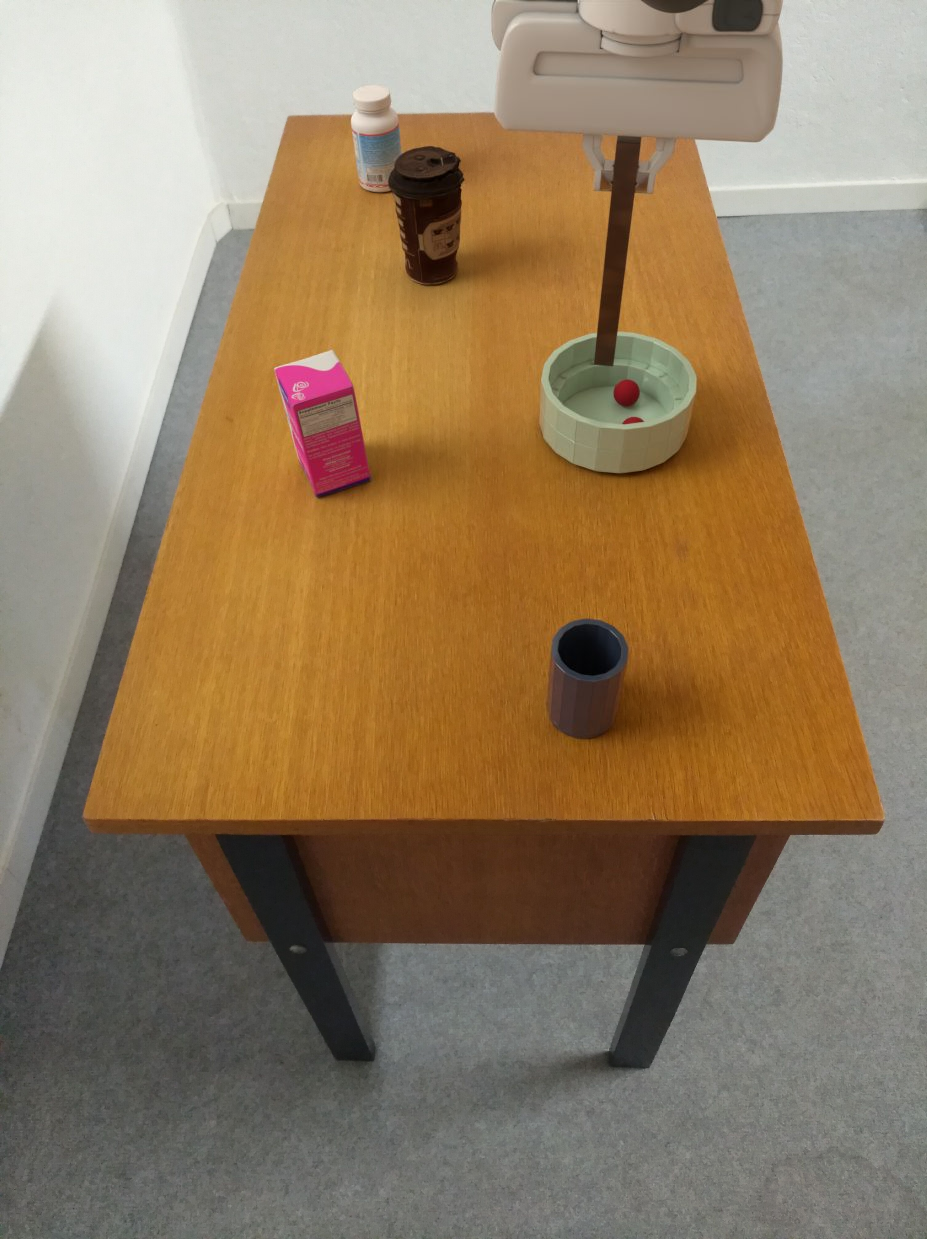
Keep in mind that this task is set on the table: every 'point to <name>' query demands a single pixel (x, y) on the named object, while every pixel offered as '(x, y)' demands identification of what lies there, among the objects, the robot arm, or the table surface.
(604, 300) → the stirring stick
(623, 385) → the berry
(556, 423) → the bowl
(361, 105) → the pill bottle
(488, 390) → the table surface
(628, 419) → the berry
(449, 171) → the coffee cup
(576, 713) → the stick holder
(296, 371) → the supplement box
